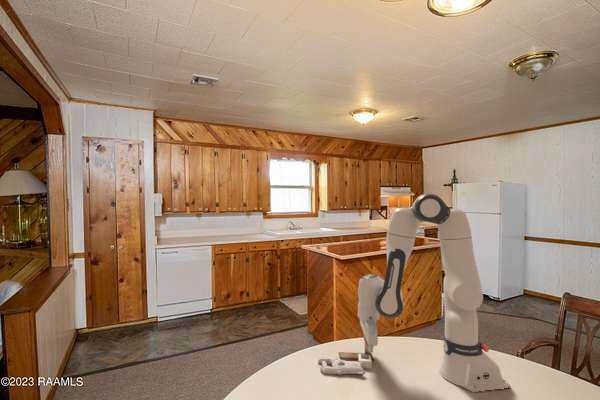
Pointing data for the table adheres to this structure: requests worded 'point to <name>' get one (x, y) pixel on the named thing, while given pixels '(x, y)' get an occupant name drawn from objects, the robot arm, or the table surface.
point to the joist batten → (351, 356)
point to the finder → (365, 360)
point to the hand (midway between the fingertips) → (368, 345)
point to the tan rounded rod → (366, 348)
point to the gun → (340, 366)
